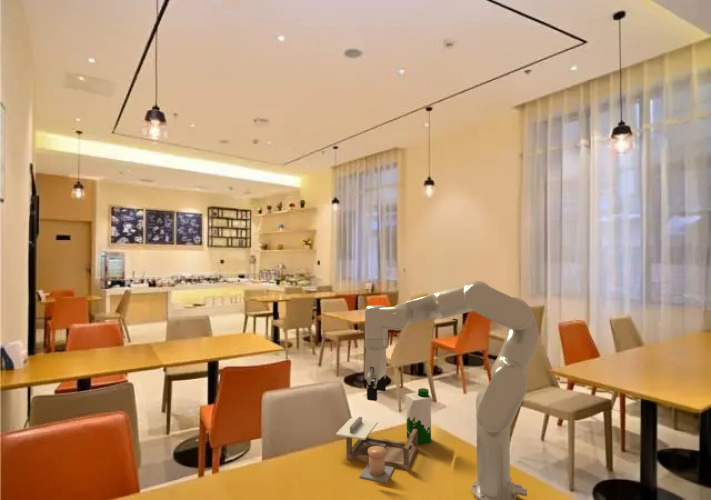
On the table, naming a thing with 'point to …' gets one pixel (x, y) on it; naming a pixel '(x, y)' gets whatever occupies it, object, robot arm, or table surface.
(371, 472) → the peach rounded knob
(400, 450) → the wooden frame crate
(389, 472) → the trivet
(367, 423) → the lid
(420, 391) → the milk carton
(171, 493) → the table surface
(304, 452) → the table surface
